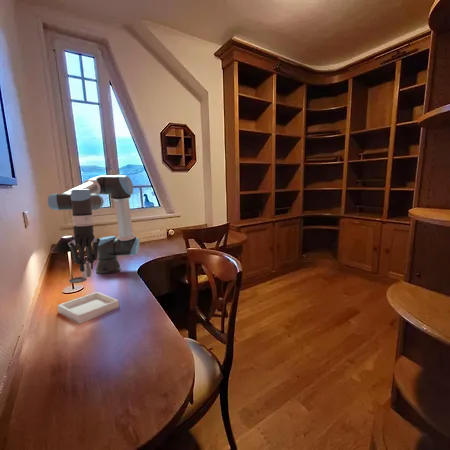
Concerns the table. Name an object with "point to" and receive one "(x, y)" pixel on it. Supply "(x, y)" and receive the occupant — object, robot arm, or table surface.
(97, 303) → the tray
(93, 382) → the table surface
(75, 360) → the table surface
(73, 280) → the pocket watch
